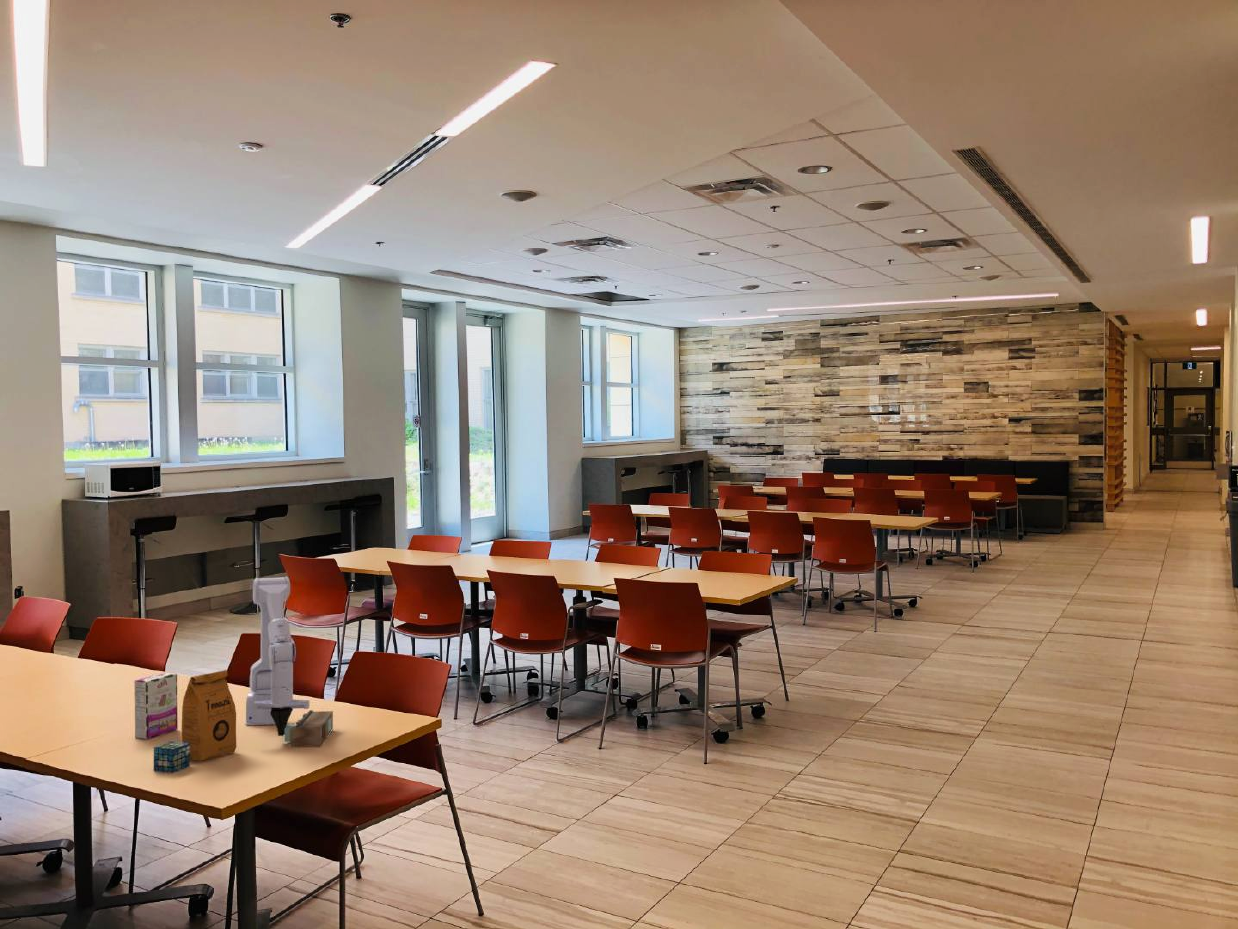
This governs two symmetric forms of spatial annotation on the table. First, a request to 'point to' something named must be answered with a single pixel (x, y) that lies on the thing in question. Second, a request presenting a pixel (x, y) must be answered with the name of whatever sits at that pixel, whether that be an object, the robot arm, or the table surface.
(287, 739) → the peg near
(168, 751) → the puzzle
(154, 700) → the candy bar box
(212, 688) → the coffee package
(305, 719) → the sleeve block
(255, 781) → the table surface
